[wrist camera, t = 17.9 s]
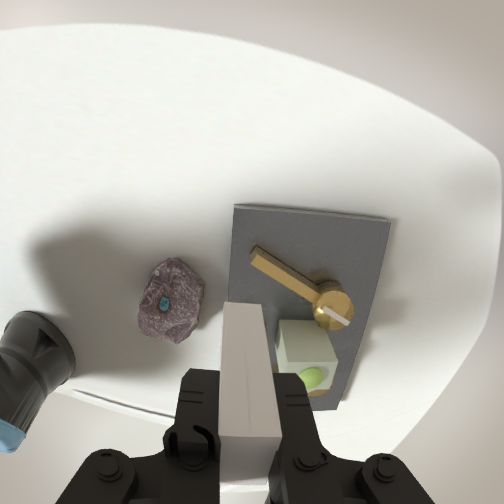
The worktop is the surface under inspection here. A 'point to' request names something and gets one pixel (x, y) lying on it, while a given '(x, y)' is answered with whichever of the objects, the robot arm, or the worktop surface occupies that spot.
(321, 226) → the grey knob board
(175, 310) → the rock
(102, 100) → the worktop surface
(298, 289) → the knob
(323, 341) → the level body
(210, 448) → the robot arm
